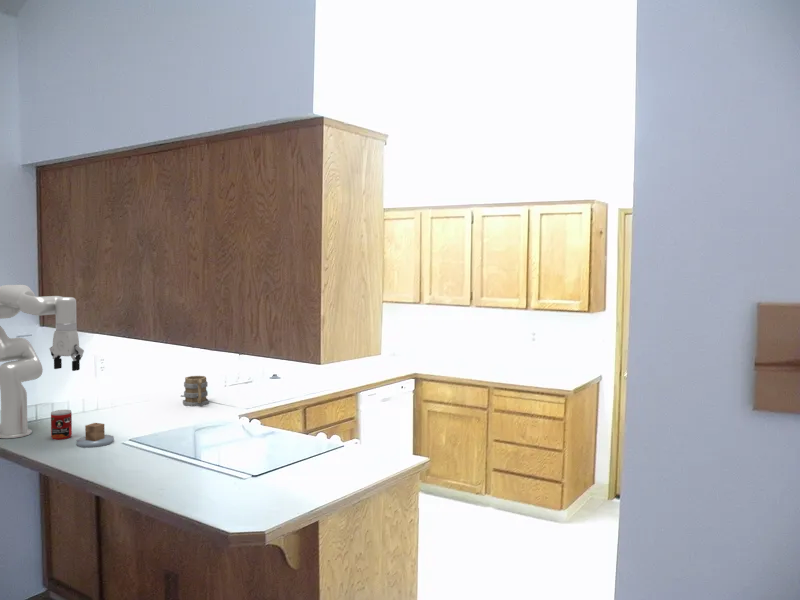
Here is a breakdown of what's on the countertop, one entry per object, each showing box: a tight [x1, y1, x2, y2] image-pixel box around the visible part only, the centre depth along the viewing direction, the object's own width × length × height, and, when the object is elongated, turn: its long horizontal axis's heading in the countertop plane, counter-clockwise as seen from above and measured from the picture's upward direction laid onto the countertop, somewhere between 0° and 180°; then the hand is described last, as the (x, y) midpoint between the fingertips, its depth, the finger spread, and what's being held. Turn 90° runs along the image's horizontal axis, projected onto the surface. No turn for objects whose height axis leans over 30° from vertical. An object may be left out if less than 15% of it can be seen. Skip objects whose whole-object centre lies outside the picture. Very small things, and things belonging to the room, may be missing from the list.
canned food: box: [50, 409, 73, 441], centre depth 271 cm, size 8×8×11 cm
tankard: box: [182, 375, 210, 407], centre depth 335 cm, size 20×13×15 cm, turn 25°
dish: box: [75, 434, 115, 449], centre depth 264 cm, size 14×14×2 cm
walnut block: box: [84, 422, 106, 441], centre depth 264 cm, size 5×5×6 cm
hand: (66, 369), depth 262 cm, fingers open, 9 cm apart
